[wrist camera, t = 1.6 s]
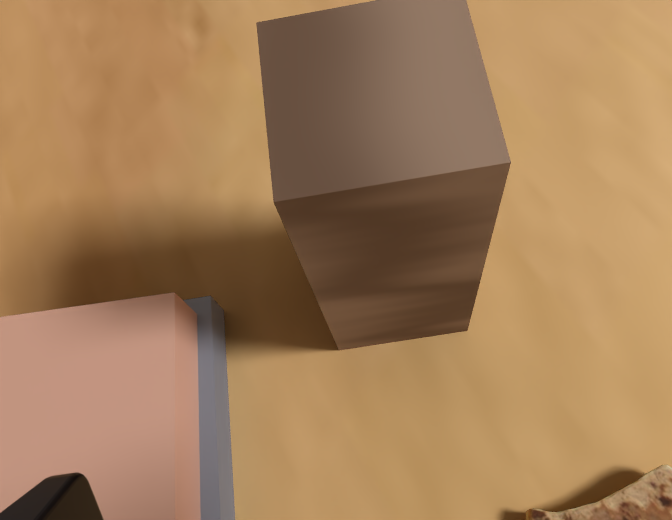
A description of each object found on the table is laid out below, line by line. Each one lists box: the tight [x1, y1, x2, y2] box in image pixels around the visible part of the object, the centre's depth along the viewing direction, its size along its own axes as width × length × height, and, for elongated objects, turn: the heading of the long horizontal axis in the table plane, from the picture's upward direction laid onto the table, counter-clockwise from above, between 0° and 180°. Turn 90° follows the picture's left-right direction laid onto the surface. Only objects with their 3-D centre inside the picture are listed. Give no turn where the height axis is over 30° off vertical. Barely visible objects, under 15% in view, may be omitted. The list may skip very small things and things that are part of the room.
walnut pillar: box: [257, 0, 511, 350], centre depth 18 cm, size 4×4×11 cm
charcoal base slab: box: [183, 296, 235, 520], centre depth 21 cm, size 8×8×2 cm
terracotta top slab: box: [0, 292, 201, 520], centre depth 19 cm, size 7×7×2 cm
